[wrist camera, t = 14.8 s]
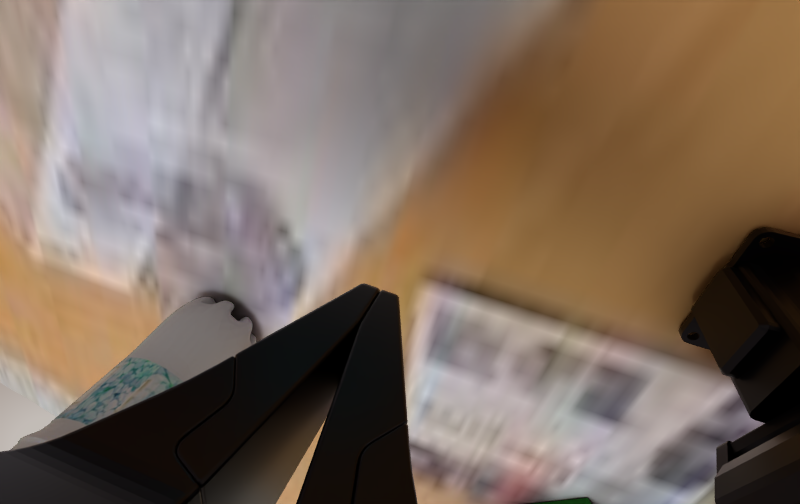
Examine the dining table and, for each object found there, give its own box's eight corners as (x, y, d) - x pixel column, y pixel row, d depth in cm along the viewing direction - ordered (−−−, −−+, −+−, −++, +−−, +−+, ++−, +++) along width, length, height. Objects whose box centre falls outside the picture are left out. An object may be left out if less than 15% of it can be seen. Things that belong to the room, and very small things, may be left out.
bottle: (192, 270, 29) (-257, 619, 13) (275, 314, 29) (-70, 723, 13) (185, 329, 33) (-164, 654, 17) (259, 368, 33) (-21, 734, 16)
